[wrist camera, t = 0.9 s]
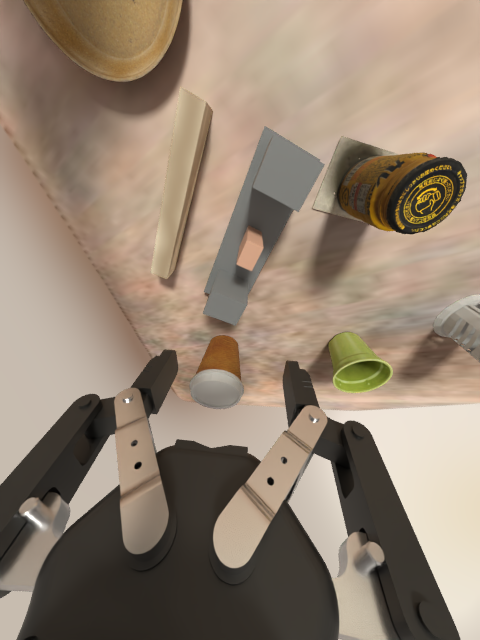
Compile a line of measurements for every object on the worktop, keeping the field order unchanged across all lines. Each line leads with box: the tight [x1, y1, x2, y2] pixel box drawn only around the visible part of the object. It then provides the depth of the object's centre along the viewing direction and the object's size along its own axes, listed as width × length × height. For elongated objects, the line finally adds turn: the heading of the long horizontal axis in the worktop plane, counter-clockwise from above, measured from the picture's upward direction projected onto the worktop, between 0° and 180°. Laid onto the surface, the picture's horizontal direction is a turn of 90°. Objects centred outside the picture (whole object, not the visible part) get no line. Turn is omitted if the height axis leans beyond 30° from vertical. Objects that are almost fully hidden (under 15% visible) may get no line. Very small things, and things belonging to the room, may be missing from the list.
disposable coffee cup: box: [190, 335, 244, 409], centre depth 38 cm, size 10×10×12 cm
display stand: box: [203, 126, 325, 326], centre depth 26 cm, size 7×22×8 cm, turn 156°
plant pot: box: [328, 332, 393, 393], centre depth 37 cm, size 9×9×9 cm
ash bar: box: [151, 87, 213, 279], centre depth 26 cm, size 2×20×4 cm, turn 157°
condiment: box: [313, 136, 467, 234], centre depth 20 cm, size 7×8×12 cm
